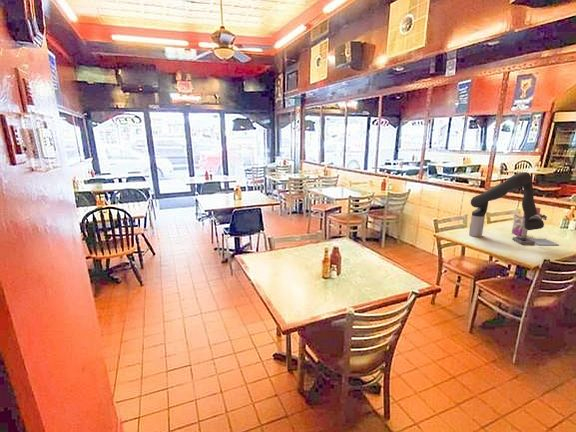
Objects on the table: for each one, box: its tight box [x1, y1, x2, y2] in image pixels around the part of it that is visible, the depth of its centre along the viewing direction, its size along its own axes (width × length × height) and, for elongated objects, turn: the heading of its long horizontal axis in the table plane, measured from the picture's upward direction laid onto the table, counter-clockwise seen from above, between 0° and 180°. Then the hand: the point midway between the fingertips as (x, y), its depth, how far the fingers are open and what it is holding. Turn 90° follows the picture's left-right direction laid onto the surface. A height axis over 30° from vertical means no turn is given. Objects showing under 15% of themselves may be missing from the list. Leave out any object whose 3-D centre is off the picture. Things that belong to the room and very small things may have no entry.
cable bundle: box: [536, 206, 541, 214], centre depth 234 cm, size 5×5×14 cm
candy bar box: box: [511, 213, 529, 237], centre depth 255 cm, size 11×5×16 cm, turn 179°
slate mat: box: [530, 238, 559, 246], centre depth 239 cm, size 14×14×1 cm
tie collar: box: [512, 235, 536, 245], centre depth 241 cm, size 12×10×2 cm
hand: (535, 214), depth 236 cm, fingers closed on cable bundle, 5 cm apart
